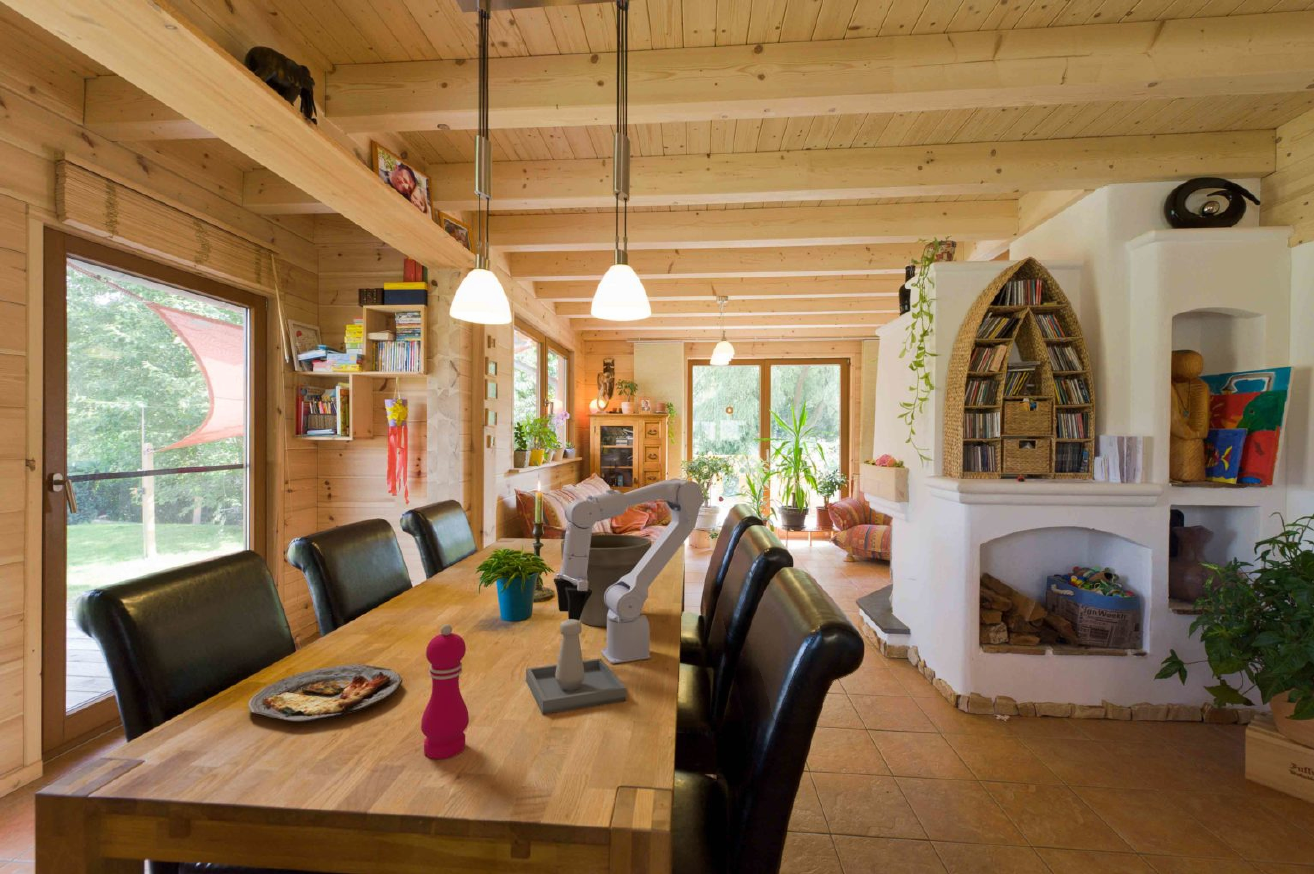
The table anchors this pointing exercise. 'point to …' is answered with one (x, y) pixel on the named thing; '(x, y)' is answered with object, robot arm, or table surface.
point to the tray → (592, 692)
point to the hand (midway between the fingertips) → (568, 615)
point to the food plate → (325, 692)
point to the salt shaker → (570, 657)
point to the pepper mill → (445, 697)
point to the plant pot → (608, 569)
